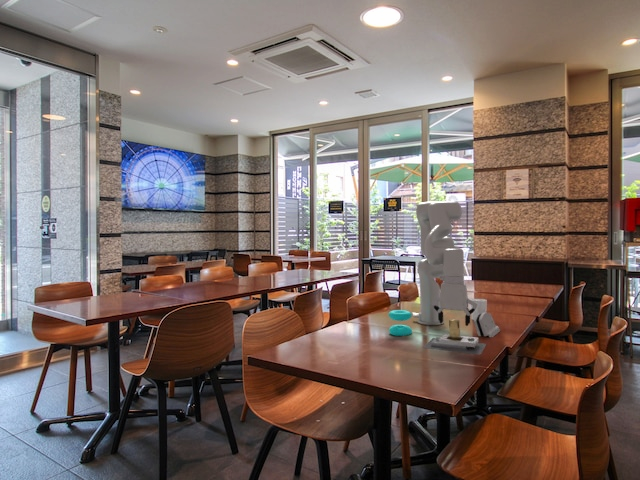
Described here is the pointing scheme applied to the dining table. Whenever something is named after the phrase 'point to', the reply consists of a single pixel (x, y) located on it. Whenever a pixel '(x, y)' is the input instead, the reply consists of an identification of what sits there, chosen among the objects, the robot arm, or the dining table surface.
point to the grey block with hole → (455, 342)
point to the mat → (475, 350)
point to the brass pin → (454, 329)
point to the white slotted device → (485, 325)
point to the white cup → (479, 307)
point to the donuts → (400, 316)
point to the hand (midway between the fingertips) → (454, 323)
